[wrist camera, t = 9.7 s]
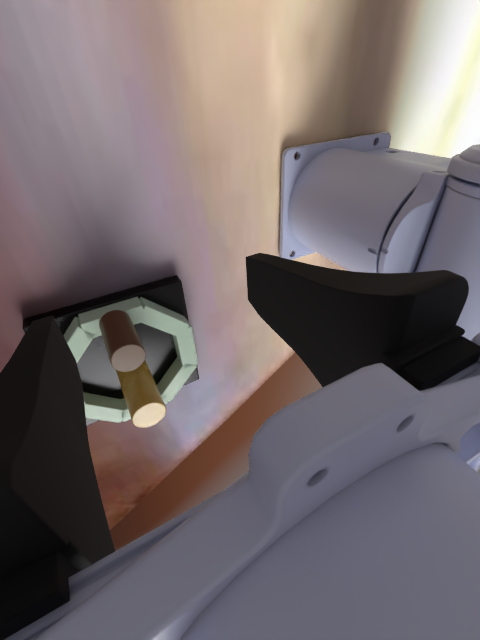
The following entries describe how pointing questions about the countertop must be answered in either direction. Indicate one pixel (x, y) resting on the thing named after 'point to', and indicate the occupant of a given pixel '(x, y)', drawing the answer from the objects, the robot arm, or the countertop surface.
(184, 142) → the countertop surface
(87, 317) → the ring
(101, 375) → the peg stand
